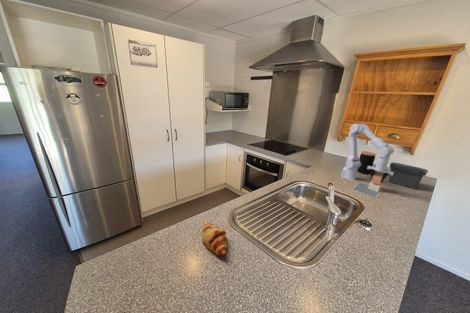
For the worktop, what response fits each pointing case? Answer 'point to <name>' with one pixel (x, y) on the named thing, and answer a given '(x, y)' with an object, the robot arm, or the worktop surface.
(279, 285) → the worktop surface
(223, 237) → the croissant
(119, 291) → the worktop surface
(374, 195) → the board
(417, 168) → the storage bin
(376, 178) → the terracotta block
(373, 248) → the worktop surface
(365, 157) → the coffee jar
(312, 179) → the worktop surface
